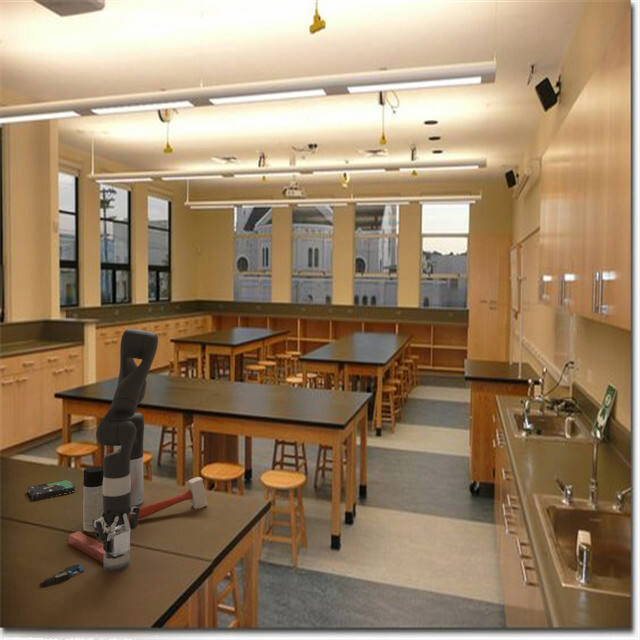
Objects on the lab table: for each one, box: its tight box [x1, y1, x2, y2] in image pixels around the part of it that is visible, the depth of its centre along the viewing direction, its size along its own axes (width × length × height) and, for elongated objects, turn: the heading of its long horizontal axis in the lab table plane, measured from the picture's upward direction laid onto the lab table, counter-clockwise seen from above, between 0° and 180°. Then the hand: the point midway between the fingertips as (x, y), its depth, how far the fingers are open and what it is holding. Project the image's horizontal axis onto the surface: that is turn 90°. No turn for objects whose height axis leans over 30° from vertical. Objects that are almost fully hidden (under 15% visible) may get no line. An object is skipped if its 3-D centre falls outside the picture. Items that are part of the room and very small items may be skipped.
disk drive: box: [27, 479, 76, 501], centre depth 208 cm, size 10×3×15 cm
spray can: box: [82, 465, 105, 533], centre depth 177 cm, size 7×7×20 cm
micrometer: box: [39, 563, 84, 587], centre depth 148 cm, size 12×2×5 cm
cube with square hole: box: [107, 525, 131, 556], centre depth 154 cm, size 5×5×6 cm
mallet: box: [127, 476, 208, 521], centre depth 190 cm, size 11×4×30 cm
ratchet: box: [68, 530, 131, 573], centre depth 160 cm, size 27×7×6 cm, turn 53°
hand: (116, 548), depth 154 cm, fingers closed on cube with square hole, 5 cm apart
